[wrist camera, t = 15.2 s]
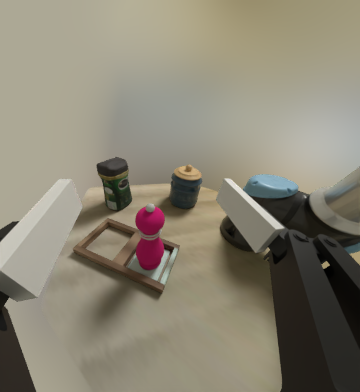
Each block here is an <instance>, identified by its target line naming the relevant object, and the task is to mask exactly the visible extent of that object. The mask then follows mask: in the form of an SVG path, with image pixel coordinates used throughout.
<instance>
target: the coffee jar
mask: <svg viewBox="0 0 360 392" xmlns="http://www.w3.org/2000/svg"><path fill="white" fill-rule="evenodd" d="M97 171H98V175H99V176H100V177H101V179H102V182H103V187H104V194H105V202H106V206H107V207H108V208H110V209H112V210H121V209H123V208H124V207H126V206H127V205H128V204H129V203H130V202H131V201H132V196H131V192H130V187H129V182H128V166H127V162H126V161H125V160H124V159H122V158H118V157H115V158H113V159H109V160H106V161H104V162H101V163H98V164H97Z"/></svg>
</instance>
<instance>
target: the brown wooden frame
mask: <svg viewBox="0 0 360 392" xmlns="http://www.w3.org/2000/svg"><path fill="white" fill-rule="evenodd" d="M108 226H111V227H114V228H116V229H119V230H121V231H124V232H126V233H129V234H132V235H133V236H132V237H131V238H130V240H129V241H128V242H127V244H126V245H125V246H124V247H123V249H122V250H121V251H120V252H119V254H118V255H117V256H116V257H115V259H114V260H113V261H111V260H109V259H107V258H104V257H102V256H100V255H98V254H95V253H93V252H91V251H89V250H87V249H85V248H86V247H87V246H88V245H89V244H90V243H91V242H92V241H93V240H95V239H96V238H97V237H98V236H99V235H100V234H101V233H102V232H103V231H104V230H105V229H106V228H107V227H108ZM140 239H141V236H140V235H139V230H138V229H135V228H132V227H130V226H127V225H125V224H122V223H119V222H117V221H114V220H112V219H109V218H107V219H106V220H105V221H104V222H103V223H102V224H100V225H99V226H98V227H97V228H96V229H95V230H94V231H92V232H91V233H90V234H89V235H88V236H87V237H85V238H84V239H83V240H82V241H81V242H80V243H78V244H77V245H76V246H75V247H74V248H73V251H74V252H75V253H76V254H78V255H80V256H83V257H85V258H87V259H89V260H91V261H93V262H95V263H98V264H100V265H102V266H104V267H106V268H108V269H110V270H113V271H115V272H117V273H119V274H121V275H123V276H125V277H128V278H130V279H132V280H134V281H136V282H138V283H140V284H143V285H145V286H147V287H149V288H151V289H153V290H155V291H158V292H160V293H162V292H163V290H164V287H165V284H166V282H167V279H168V276H169V274H170V271H171V269H172V266H173V263H174V261H175V258H176V255H177V253H178V250H179V246H180V245H177V244H174V243H172V242H169V241H166V240H164V239H161V238H160V239H161V241H162V242H163V245H164V247H165V248H167V249H170V250H172V251H173V253H172V255H171V257H170V260H169V262H168V265H167V267H166V269H165V272H164V274H163V276H162V279H161V281H160V282H158V281H155V280H153V279H151V278H149V277H146V276H144V275H142V274H140V273H138V272H135V271H133V270H131V269H129V268H127V267H126V265H127V264H128V262H129V261H130V259H131V258H132V256H133V255H134V253H135V252H136V247H137V244H138V242H139V241H140Z"/></svg>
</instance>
